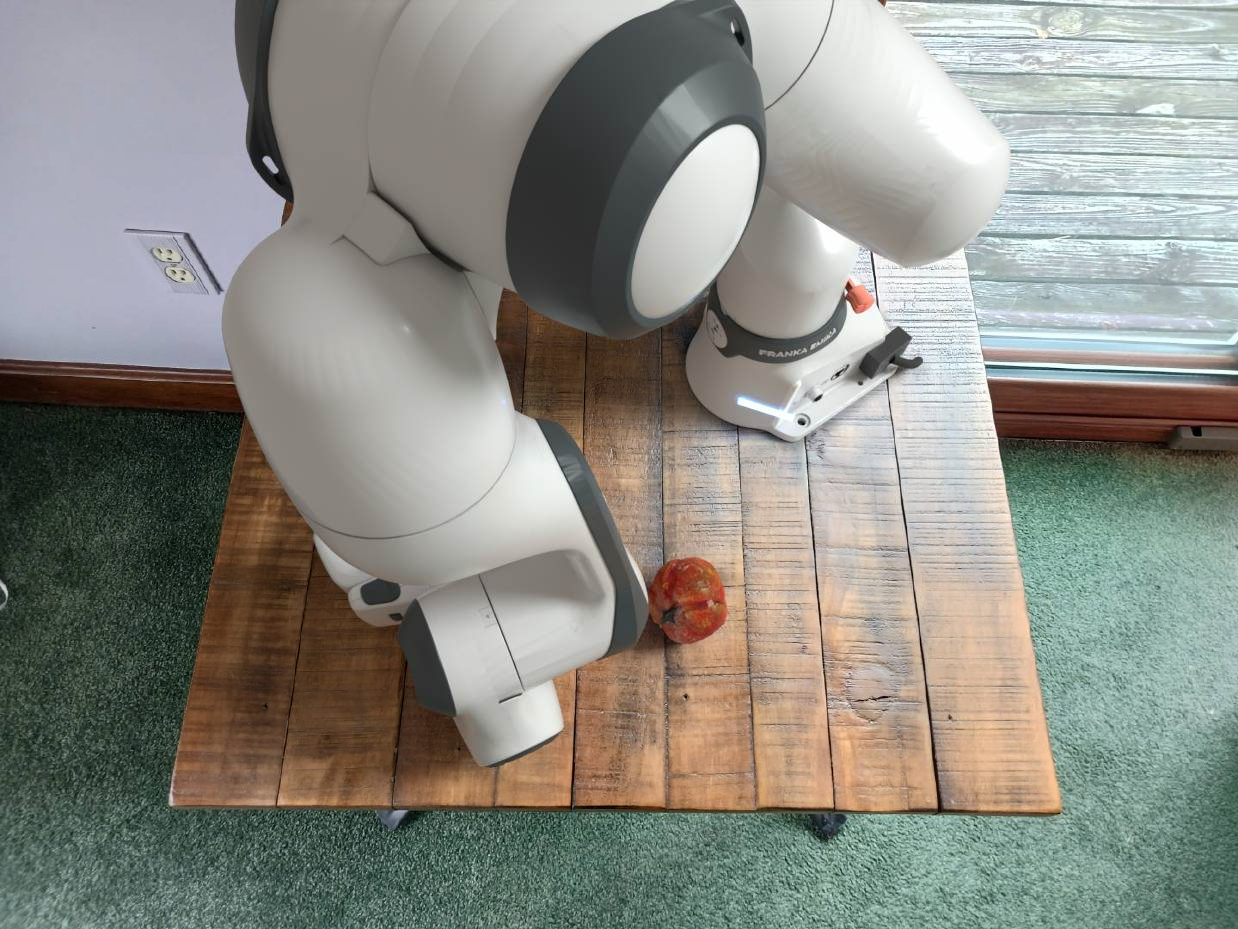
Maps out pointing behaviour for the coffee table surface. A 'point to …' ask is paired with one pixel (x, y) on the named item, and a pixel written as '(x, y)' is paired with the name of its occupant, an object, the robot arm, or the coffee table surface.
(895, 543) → the coffee table surface
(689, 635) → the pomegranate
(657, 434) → the coffee table surface
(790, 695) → the coffee table surface
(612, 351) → the coffee table surface
